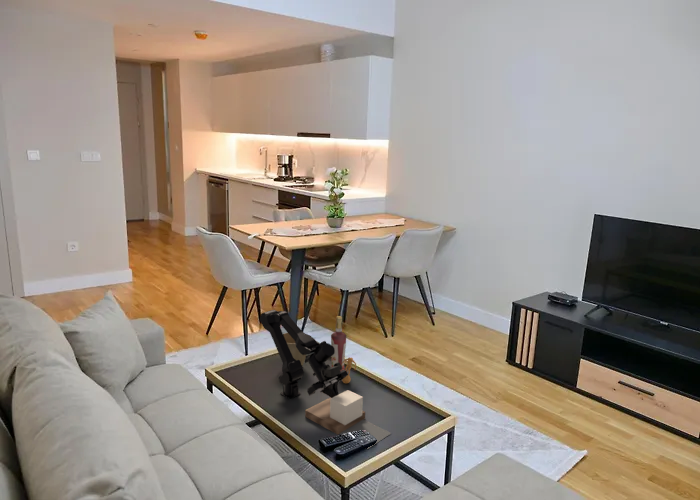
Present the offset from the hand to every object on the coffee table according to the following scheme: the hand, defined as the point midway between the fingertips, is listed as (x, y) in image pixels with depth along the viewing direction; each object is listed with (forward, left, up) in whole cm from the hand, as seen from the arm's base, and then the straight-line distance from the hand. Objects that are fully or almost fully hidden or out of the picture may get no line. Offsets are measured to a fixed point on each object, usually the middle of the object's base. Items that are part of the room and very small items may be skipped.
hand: (338, 401), depth 202 cm
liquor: (-29, +30, -8) cm, 42 cm away
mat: (+14, 0, -8) cm, 16 cm away
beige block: (+4, 0, -5) cm, 6 cm away
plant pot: (-47, +18, -8) cm, 51 cm away
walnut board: (-2, 0, -8) cm, 8 cm away
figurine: (-19, +26, -8) cm, 33 cm away
